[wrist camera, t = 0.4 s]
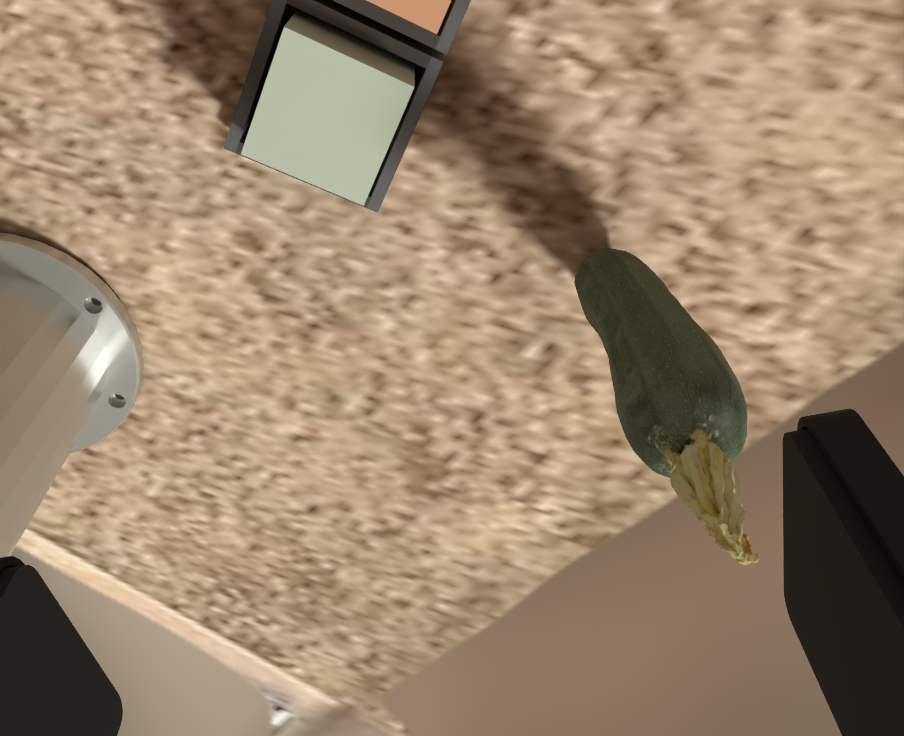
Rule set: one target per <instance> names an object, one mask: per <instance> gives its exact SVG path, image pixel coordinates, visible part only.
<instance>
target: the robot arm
mask: <svg viewBox="0 0 904 736" xmlns="http://www.w3.org/2000/svg"><path fill="white" fill-rule="evenodd" d="M95 298H96V299H98V300H99V301H98V300H96V299H95ZM143 370H144V361H143V352H142V345H141V342H140V339H139V336H138V333H137V330H136V327H135V324H134V322H133V321H132V319H131V317H130V315H129V314H128V312H127V310H126V308H125V307H124V305H123V303H122V302H121V301H120V300H119V299H118V297H117V296H116V295H115V294H114V292H113V291H112V290H111V289H110V288H109V286H108V285H107V284H106V283H104V282H103V281H102V280H101V279H100V278H99V277H98V276H97V275H95V274H94V273H93V272H92V271H91V270H90V269H89V268H87V267H86V266H84V265H83V264H81V263H80V262H78V261H77V260H75V259H74V258H72V257H70V256H69V255H67V254H66V253H64V252H62V251H60V250H57V249H55V248H53V247H51V246H48V245H46V244H44V243H42V242H40V241H36V240H33V239H29V238H25V237H22V236H18V235H15V234H9V233H0V736H117V734H118V731H119V728H120V725H121V721H122V703H121V699H120V696H119V694H118V692H117V691H116V689H115V688H114V687H113V685H112V684H111V682H110V680H109V679H108V677H107V676H106V674H105V673H104V671H103V670H102V668H101V667H100V665H99V664H98V662H97V661H96V659H95V658H94V656H93V655H92V653H91V652H90V650H89V649H88V647H87V646H86V644H85V643H84V641H83V640H82V638H81V637H80V635H79V634H78V632H77V631H76V629H75V628H74V626H73V625H72V623H71V621H70V620H69V618H68V617H67V616H66V614H65V613H64V611H63V609H62V608H61V606H60V605H59V603H58V602H57V600H56V599H55V598H54V596H53V594H52V593H51V591H50V590H49V588H48V587H47V585H46V584H45V582H44V581H43V579H42V578H41V576H40V575H39V573H38V572H37V571H36V570H35V568H33V567H32V566H30V565H25V564H24V563H23V562H22V561H21V560H20V559H18V558H16V557H13V556H12V557H11V556H10V555H11V553H12V551H13V550H14V548H15V546H16V544H17V543H18V541H19V539H20V538H21V536H22V534H23V532H24V531H25V529H26V527H27V526H28V524H29V522H30V520H31V519H32V517H33V515H34V513H35V512H36V510H37V508H38V507H39V505H40V503H41V501H42V500H43V498H44V496H45V495H46V493H47V491H48V489H49V488H50V486H51V484H52V483H53V481H54V479H55V477H56V476H57V474H58V472H59V470H60V469H61V467H62V465H63V464H64V462H65V460H66V458H67V457H68V455H69V453H73V452H78V451H81V450H83V449H85V448H88V447H90V446H92V445H95V444H97V443H99V442H100V441H101V440H103V439H104V438H106V437H107V436H109V435H110V434H111V433H113V432H114V431H115V430H116V429H117V428H118V426H119V425H120V424H121V423H122V422H123V421H124V420H125V419H126V417H127V415H128V414H129V412H130V410H131V408H132V407H133V405H134V403H135V401H136V398H137V396H138V393H139V390H140V388H141V385H142V378H143ZM783 529H784V530H783V533H784V534H783V535H784V596H785V602H786V606H787V610H788V614H789V617H790V620H791V622H792V625H793V627H794V629H795V631H796V634H797V636H798V638H799V640H800V642H801V645H802V647H803V649H804V651H805V654H806V656H807V658H808V660H809V663H810V665H811V667H812V669H813V672H814V674H815V676H816V678H817V680H818V682H819V685H820V687H821V689H822V692H823V694H824V696H825V698H826V700H827V703H828V705H829V707H830V709H831V712H832V714H833V716H834V718H835V720H836V723H837V725H838V727H839V729H840V732H841V734H842V736H904V476H903V475H902V473H901V472H900V471H899V469H898V468H897V466H896V465H895V464H894V462H893V461H892V460H891V458H890V457H889V456H888V454H887V453H886V451H885V450H884V449H883V447H882V446H881V444H880V443H879V442H878V440H877V439H876V438H875V436H874V435H873V433H872V432H871V431H870V429H869V428H868V427H867V425H866V424H865V423H864V421H863V420H862V418H861V417H860V416H859V414H858V413H856V411H855V410H852V409H845V410H840V411H834V412H829V413H823V414H817V415H811V416H805V417H802V418H800V419H799V422H798V428H797V431H793V432H787V433H785V434H784V437H783Z"/></svg>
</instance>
